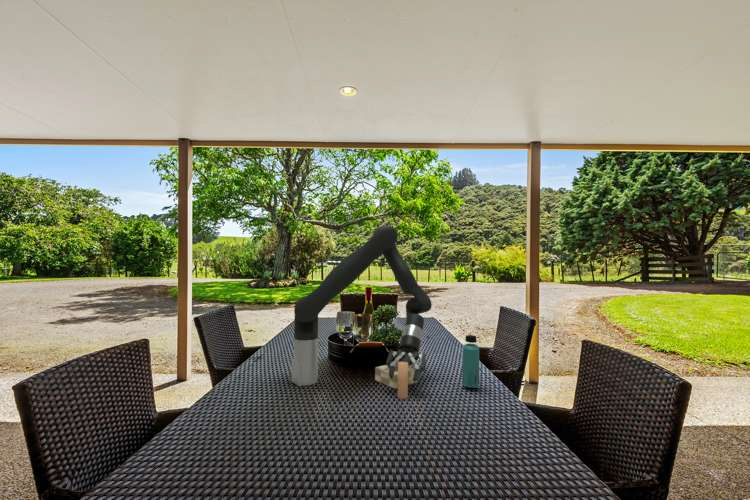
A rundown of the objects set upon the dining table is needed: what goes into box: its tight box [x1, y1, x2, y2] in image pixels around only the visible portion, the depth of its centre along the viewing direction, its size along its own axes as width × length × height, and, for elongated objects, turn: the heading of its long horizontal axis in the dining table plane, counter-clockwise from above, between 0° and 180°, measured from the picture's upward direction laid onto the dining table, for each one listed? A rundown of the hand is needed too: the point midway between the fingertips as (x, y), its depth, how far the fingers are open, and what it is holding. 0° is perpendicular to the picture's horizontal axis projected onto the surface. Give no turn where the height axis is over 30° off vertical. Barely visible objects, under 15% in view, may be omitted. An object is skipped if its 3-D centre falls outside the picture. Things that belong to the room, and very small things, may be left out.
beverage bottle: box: [461, 334, 481, 389], centre depth 140 cm, size 6×7×20 cm
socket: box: [374, 364, 419, 390], centre depth 147 cm, size 12×12×5 cm
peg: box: [397, 362, 409, 400], centre depth 131 cm, size 4×4×12 cm
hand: (402, 379), depth 131 cm, fingers open, 8 cm apart
